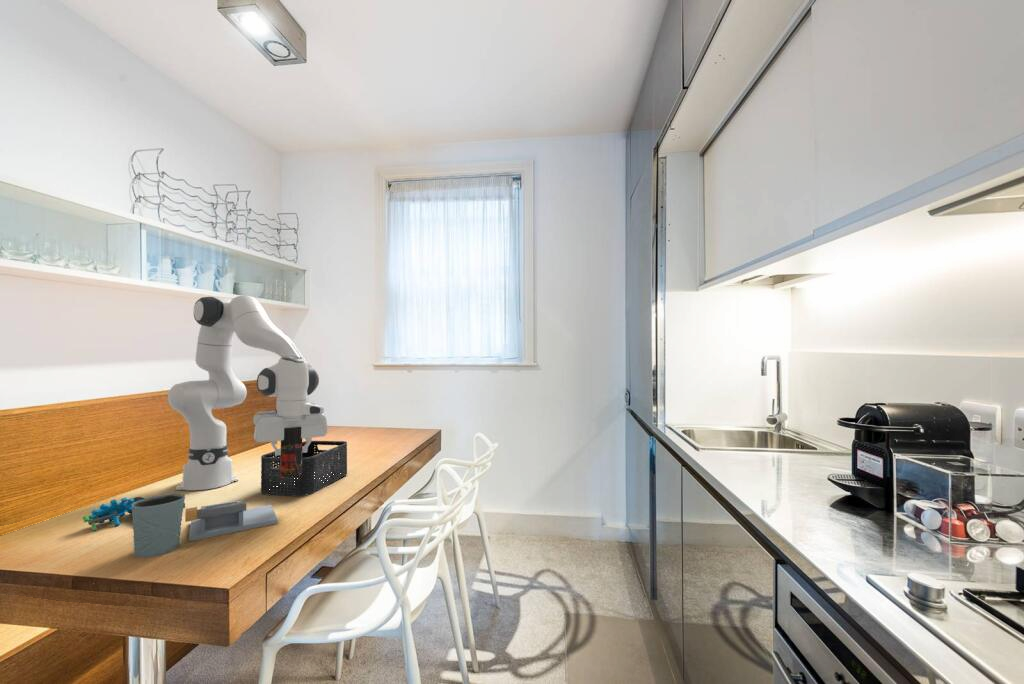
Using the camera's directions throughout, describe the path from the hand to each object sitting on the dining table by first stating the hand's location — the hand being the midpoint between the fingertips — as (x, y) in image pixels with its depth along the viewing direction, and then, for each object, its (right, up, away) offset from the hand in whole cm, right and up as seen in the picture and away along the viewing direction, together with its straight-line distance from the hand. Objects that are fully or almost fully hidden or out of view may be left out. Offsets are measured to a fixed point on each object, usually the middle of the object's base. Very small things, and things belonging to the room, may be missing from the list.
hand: (291, 453), depth 133 cm
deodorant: (0, -7, 0) cm, 7 cm away
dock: (-11, -17, -11) cm, 23 cm away
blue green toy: (-46, -18, -11) cm, 50 cm away
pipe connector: (-39, -18, -2) cm, 43 cm away
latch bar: (-11, -12, -18) cm, 24 cm away
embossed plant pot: (-19, -17, -27) cm, 37 cm away
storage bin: (-8, -19, +28) cm, 35 cm away
